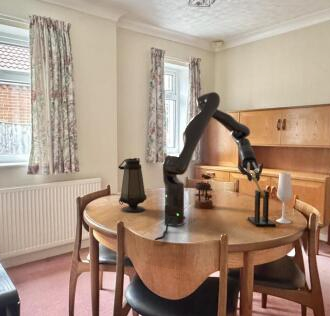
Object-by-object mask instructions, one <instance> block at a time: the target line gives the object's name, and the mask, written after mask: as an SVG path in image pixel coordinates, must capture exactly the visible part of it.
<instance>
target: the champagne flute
mask: <svg viewBox="0 0 330 316" xmlns="http://www.w3.org/2000/svg"><path fill="white" fill-rule="evenodd" d="M291 175H292V174H291V173H290V172H279V176H278V183H277V191H276V196H277V198H278V200H280V201H281V203H282V212H281V217H279V218H277V219H276V220H275V221H276V222H277V223H280V224H291V223H292V222H291V221H290V220H289V219H288V218H287V217H286V203H287V202H288V201H290V200H291V199H292V198H293V191H292V190H293V189H292V188H293V187H292V176H291Z"/></svg>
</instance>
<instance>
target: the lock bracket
mask: <svg viewBox="0 0 330 316" xmlns="http://www.w3.org/2000/svg"><path fill="white" fill-rule="evenodd" d="M262 191H264V192H265V194H266V195H265V198H262V216H261V198H260V191H258V189H255V190H254V216H247V221H249V222H250V223H252V224H253V226H254V227H257V228H260V227H261V228H263V227H265V228H274V227H277V223H276V222H274V221H272V219H270V218H269V210H270V208H269V207H270V205H269V204H270V191H268V190H266V189H263V190H262Z"/></svg>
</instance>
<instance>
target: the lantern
mask: <svg viewBox="0 0 330 316" xmlns="http://www.w3.org/2000/svg"><path fill="white" fill-rule="evenodd" d="M140 163H141V160H140V158H139V157H138V158H137V157H134V158H131V157H129V158H125V159H124V160H123V161H122V162H121V163H120V164H119V165H118V169H119V170H122V171H123V175H122V184H121V191H120V196H119V198H118V203H119V205H123V204H126V205H127V206H124V207H123V208H121V211H122V212H124V213H132V214H133V213H134V214H135V213H141V212H143V211H145V208H144V207H143V206H140V204H143V203H144V202H145V201H147V195H146V191H145V185H144V184H145V183H144V177H143V171H142V164H140ZM123 164H124V165H123Z"/></svg>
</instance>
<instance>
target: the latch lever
mask: <svg viewBox="0 0 330 316" xmlns="http://www.w3.org/2000/svg"><path fill="white" fill-rule="evenodd" d="M250 174H251V178H252V180H251V181H253V183H254V185H255V187H256V190H258V191H260V199H263V198H265V195H266V194H265V192H264V191H263V190H262V188H261V186H260V184H259V183H258V182H259V181H257V180H256V175H255V174H254V173H250Z"/></svg>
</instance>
